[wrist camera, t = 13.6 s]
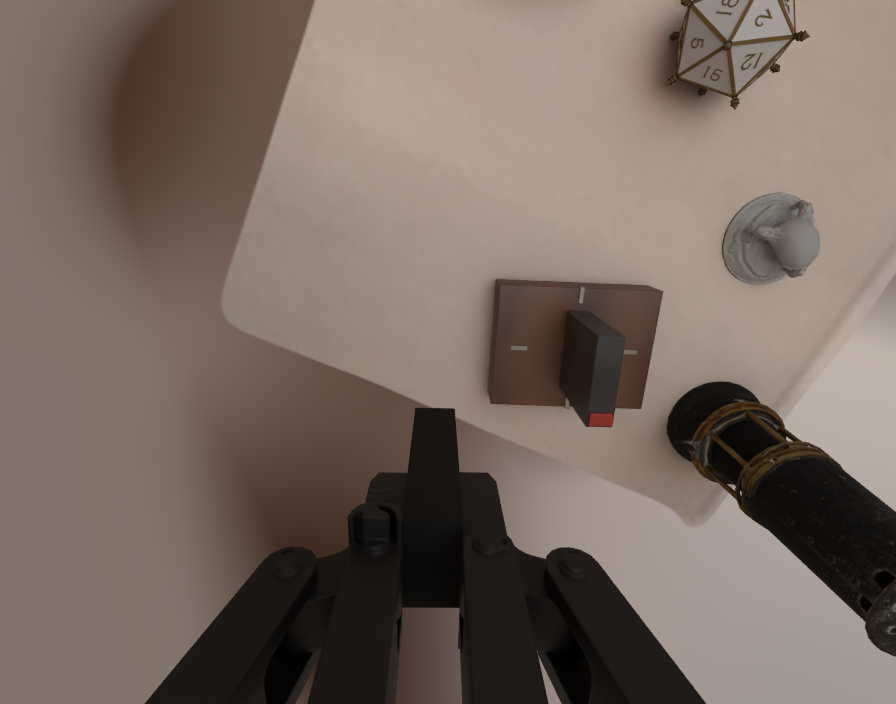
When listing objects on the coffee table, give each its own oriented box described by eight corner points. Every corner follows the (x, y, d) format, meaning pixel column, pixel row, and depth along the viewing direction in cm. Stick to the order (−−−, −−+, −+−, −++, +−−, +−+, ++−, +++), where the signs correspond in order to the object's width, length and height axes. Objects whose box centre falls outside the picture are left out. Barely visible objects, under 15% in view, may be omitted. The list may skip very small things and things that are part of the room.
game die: (670, 44, 39) (731, -104, 30) (770, 77, 37) (869, -70, 28) (628, 116, 37) (680, -21, 28) (732, 154, 35) (827, 23, 26)
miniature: (737, 298, 42) (773, 310, 38) (711, 221, 40) (746, 223, 36) (822, 257, 41) (870, 264, 37) (800, 176, 39) (848, 172, 35)
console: (487, 392, 45) (490, 405, 42) (496, 277, 41) (500, 283, 38) (628, 397, 45) (641, 410, 42) (648, 284, 42) (664, 290, 39)
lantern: (648, 427, 46) (986, 786, 18) (719, 362, 44) (1229, 647, 16) (706, 477, 48) (1095, 874, 20) (776, 417, 46) (1325, 760, 18)
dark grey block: (567, 310, 39) (599, 336, 31) (590, 311, 39) (627, 337, 32) (558, 386, 41) (586, 428, 34) (580, 387, 41) (613, 429, 34)
